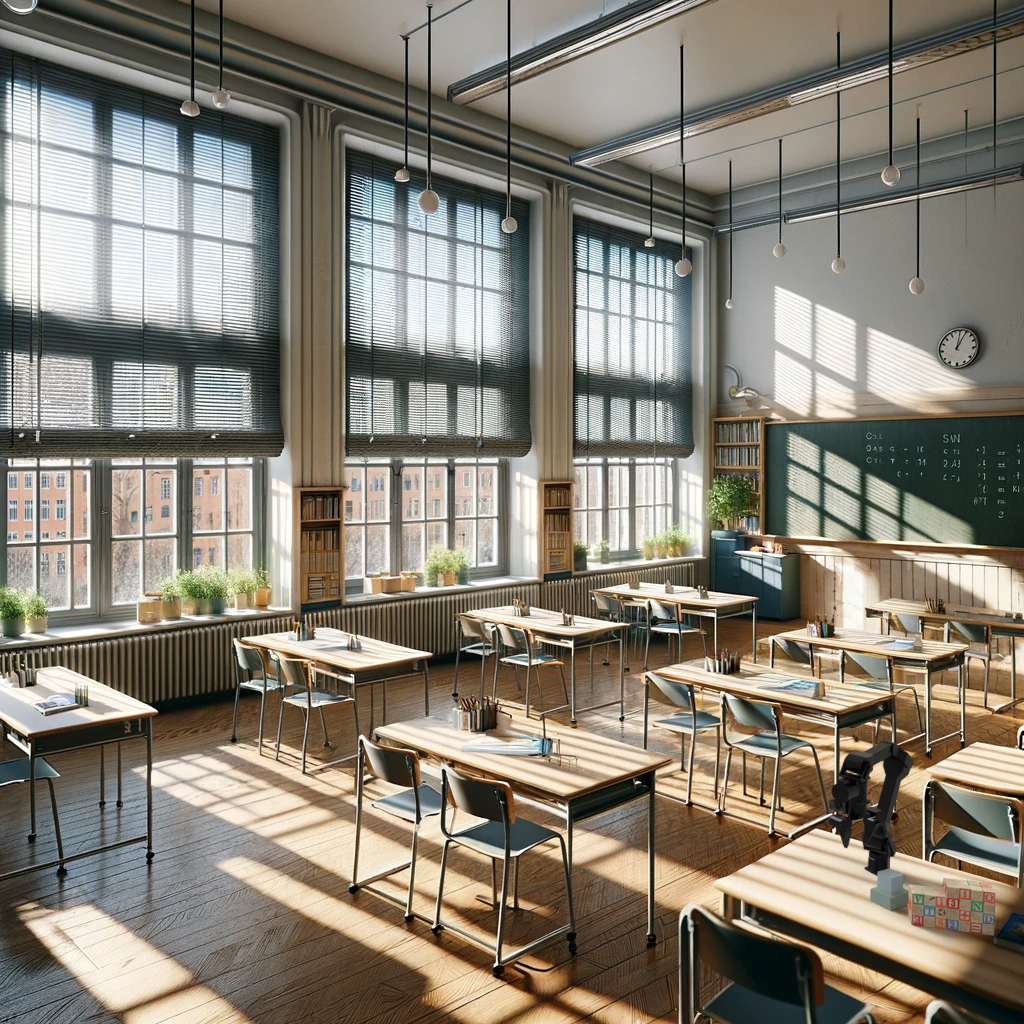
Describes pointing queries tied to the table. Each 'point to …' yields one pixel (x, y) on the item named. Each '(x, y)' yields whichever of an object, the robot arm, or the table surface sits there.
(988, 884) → the stack of blocks
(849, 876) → the table surface
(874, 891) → the pale green block
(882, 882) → the cube
